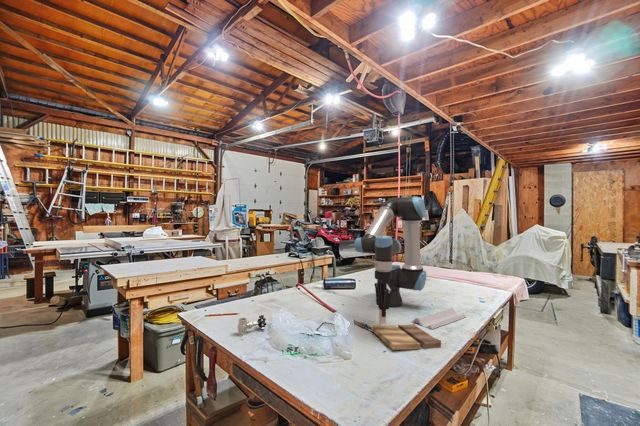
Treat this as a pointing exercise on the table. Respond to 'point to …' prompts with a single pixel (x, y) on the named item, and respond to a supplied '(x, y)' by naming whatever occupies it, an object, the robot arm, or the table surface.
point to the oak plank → (395, 337)
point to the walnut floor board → (420, 336)
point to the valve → (249, 324)
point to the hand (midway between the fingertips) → (382, 323)
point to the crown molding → (438, 318)
